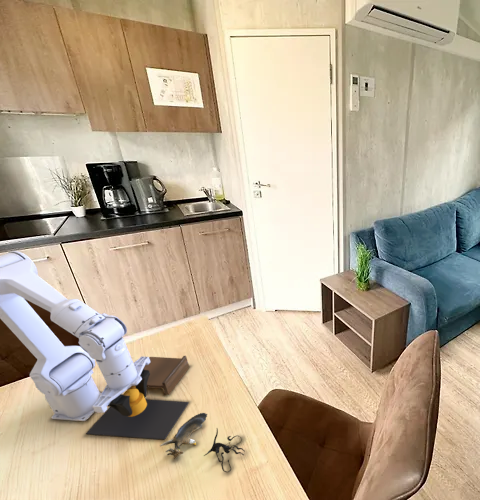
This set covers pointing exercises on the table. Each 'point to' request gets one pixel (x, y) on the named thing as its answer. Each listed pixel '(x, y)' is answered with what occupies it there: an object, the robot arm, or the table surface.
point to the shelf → (166, 372)
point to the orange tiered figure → (136, 400)
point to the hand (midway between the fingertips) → (134, 405)
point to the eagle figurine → (185, 434)
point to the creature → (226, 449)
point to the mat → (141, 421)
